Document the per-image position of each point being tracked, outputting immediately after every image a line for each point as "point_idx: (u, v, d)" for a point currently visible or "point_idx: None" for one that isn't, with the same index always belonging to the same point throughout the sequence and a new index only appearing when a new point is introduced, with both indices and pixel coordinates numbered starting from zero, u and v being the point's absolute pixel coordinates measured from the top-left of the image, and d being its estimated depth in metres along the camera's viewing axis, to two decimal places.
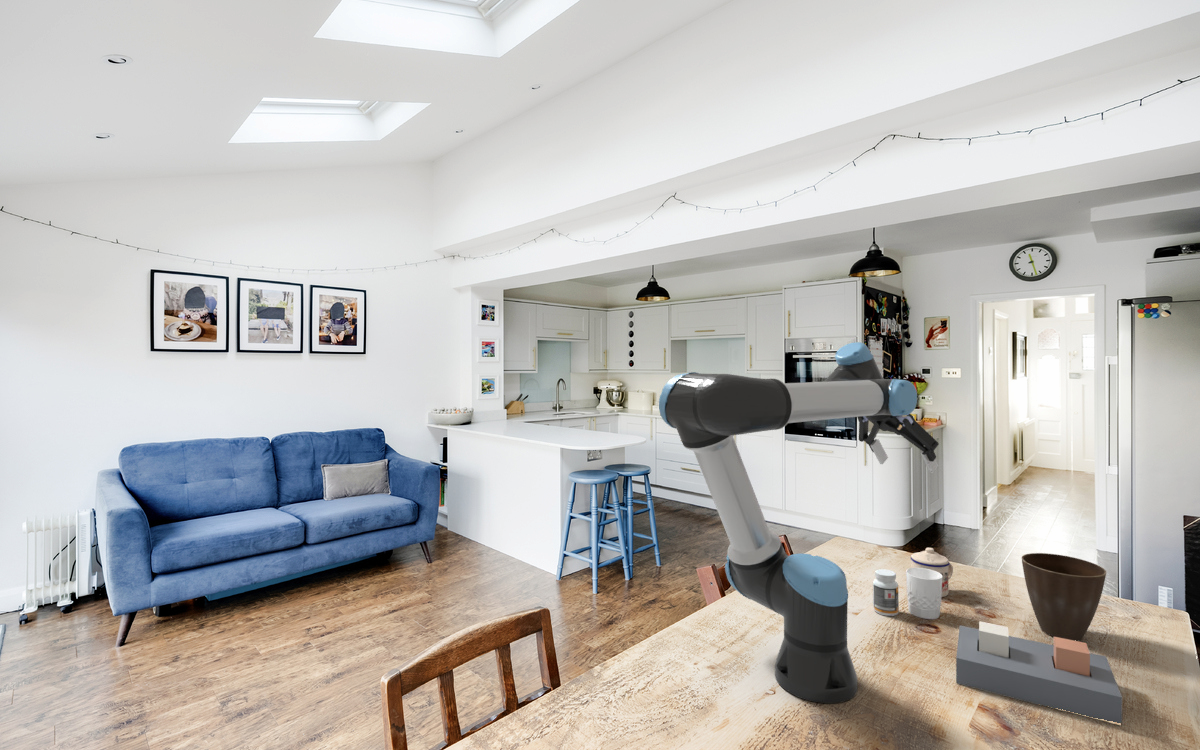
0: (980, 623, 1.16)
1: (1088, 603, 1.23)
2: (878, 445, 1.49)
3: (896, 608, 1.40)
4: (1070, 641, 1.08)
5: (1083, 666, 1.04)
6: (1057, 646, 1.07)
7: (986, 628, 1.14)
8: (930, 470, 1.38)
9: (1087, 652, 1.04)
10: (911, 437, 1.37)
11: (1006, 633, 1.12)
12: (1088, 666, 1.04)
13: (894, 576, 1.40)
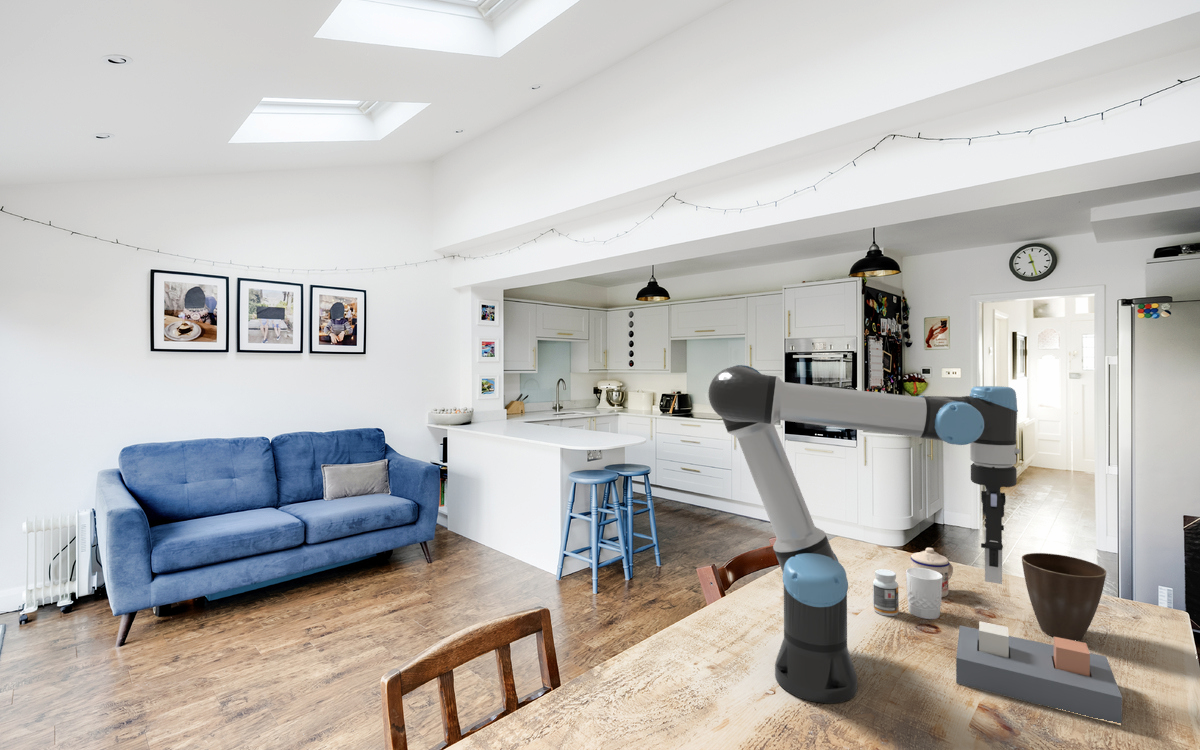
0: (980, 623, 1.16)
1: (1088, 603, 1.23)
2: None
3: (896, 608, 1.40)
4: (1070, 641, 1.08)
5: (1083, 666, 1.04)
6: (1057, 646, 1.07)
7: (986, 628, 1.14)
8: None
9: (1087, 652, 1.04)
10: None
11: (1006, 633, 1.12)
12: (1088, 666, 1.04)
13: (894, 576, 1.40)
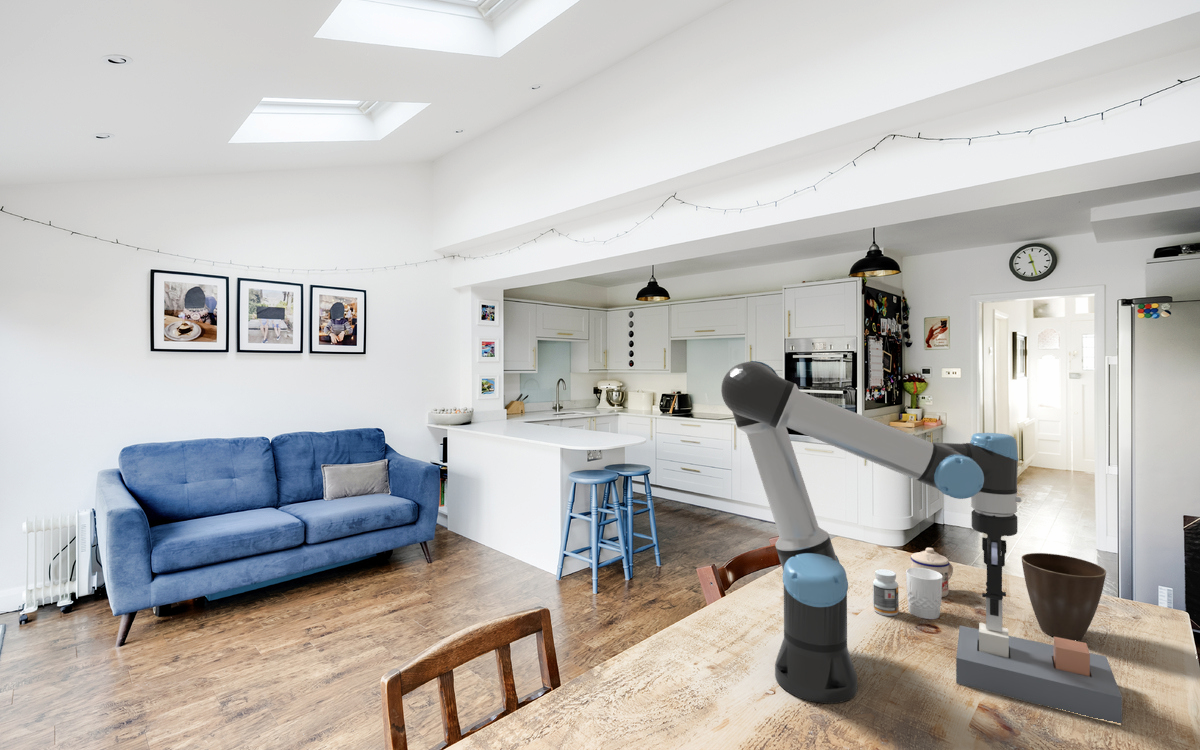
0: (980, 624, 1.16)
1: (1088, 603, 1.23)
2: None
3: (896, 608, 1.40)
4: (1070, 641, 1.08)
5: (1083, 666, 1.04)
6: (1057, 646, 1.07)
7: (986, 629, 1.14)
8: None
9: (1087, 652, 1.04)
10: None
11: (1006, 634, 1.12)
12: (1088, 666, 1.04)
13: (894, 576, 1.40)
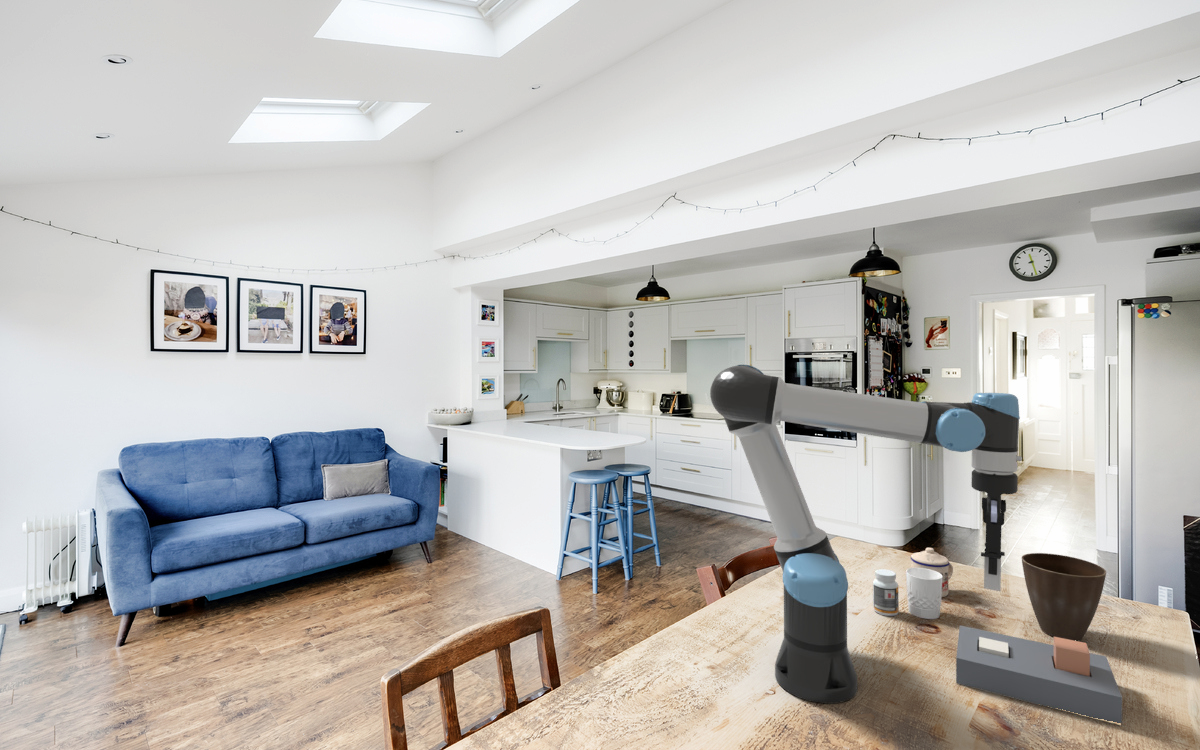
0: (980, 639, 1.16)
1: (1088, 603, 1.23)
2: None
3: (896, 608, 1.40)
4: (1070, 641, 1.08)
5: (1083, 666, 1.04)
6: (1057, 646, 1.07)
7: (986, 644, 1.14)
8: (984, 583, 1.14)
9: (1087, 652, 1.04)
10: None
11: (1006, 649, 1.12)
12: (1088, 666, 1.04)
13: (894, 576, 1.40)
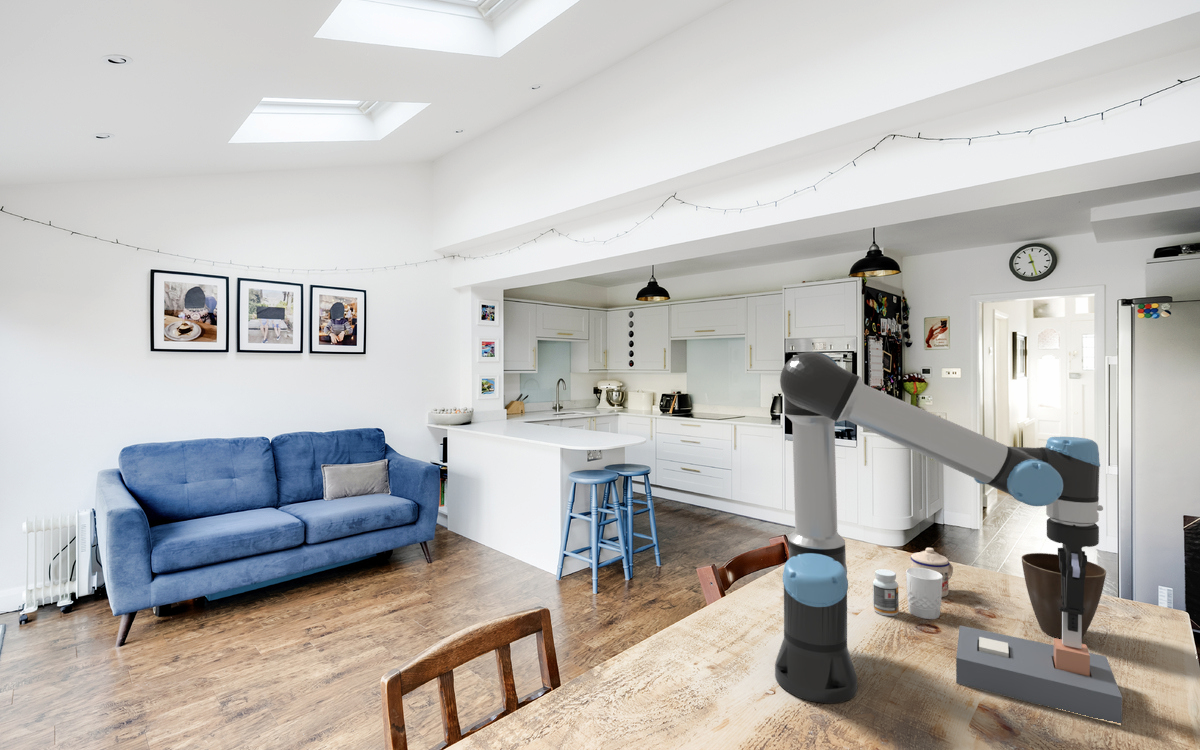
0: (980, 639, 1.16)
1: (1088, 603, 1.23)
2: None
3: (896, 608, 1.40)
4: None
5: (1083, 667, 1.04)
6: (1057, 648, 1.07)
7: (986, 644, 1.14)
8: (1062, 640, 1.07)
9: (1087, 654, 1.04)
10: None
11: (1006, 649, 1.12)
12: (1088, 668, 1.04)
13: (894, 576, 1.40)
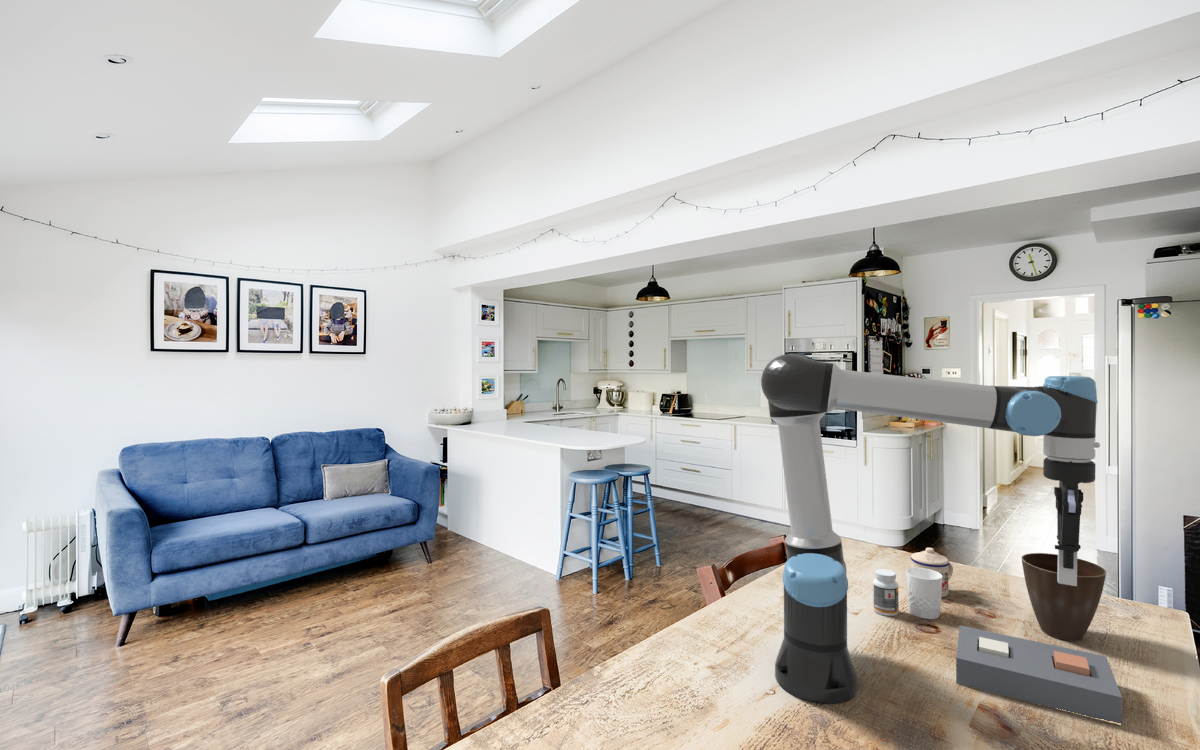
0: (980, 639, 1.16)
1: (1088, 603, 1.23)
2: None
3: (896, 608, 1.40)
4: (1070, 655, 1.08)
5: None
6: (1057, 661, 1.07)
7: (986, 644, 1.14)
8: (1058, 578, 1.08)
9: (1087, 667, 1.04)
10: None
11: (1006, 649, 1.12)
12: None
13: (894, 576, 1.40)
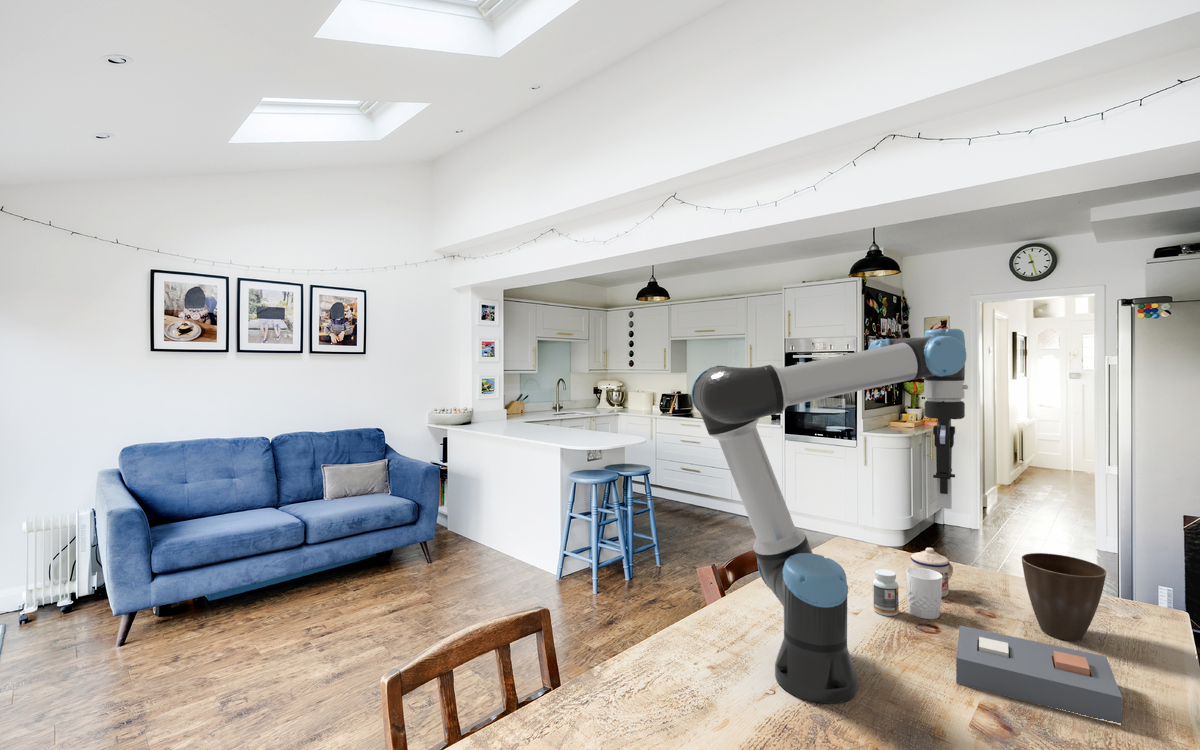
0: (980, 639, 1.16)
1: (1088, 603, 1.23)
2: None
3: (896, 608, 1.40)
4: (1070, 655, 1.08)
5: None
6: (1057, 661, 1.07)
7: (986, 644, 1.14)
8: None
9: (1087, 667, 1.04)
10: None
11: (1006, 649, 1.12)
12: None
13: (894, 576, 1.40)
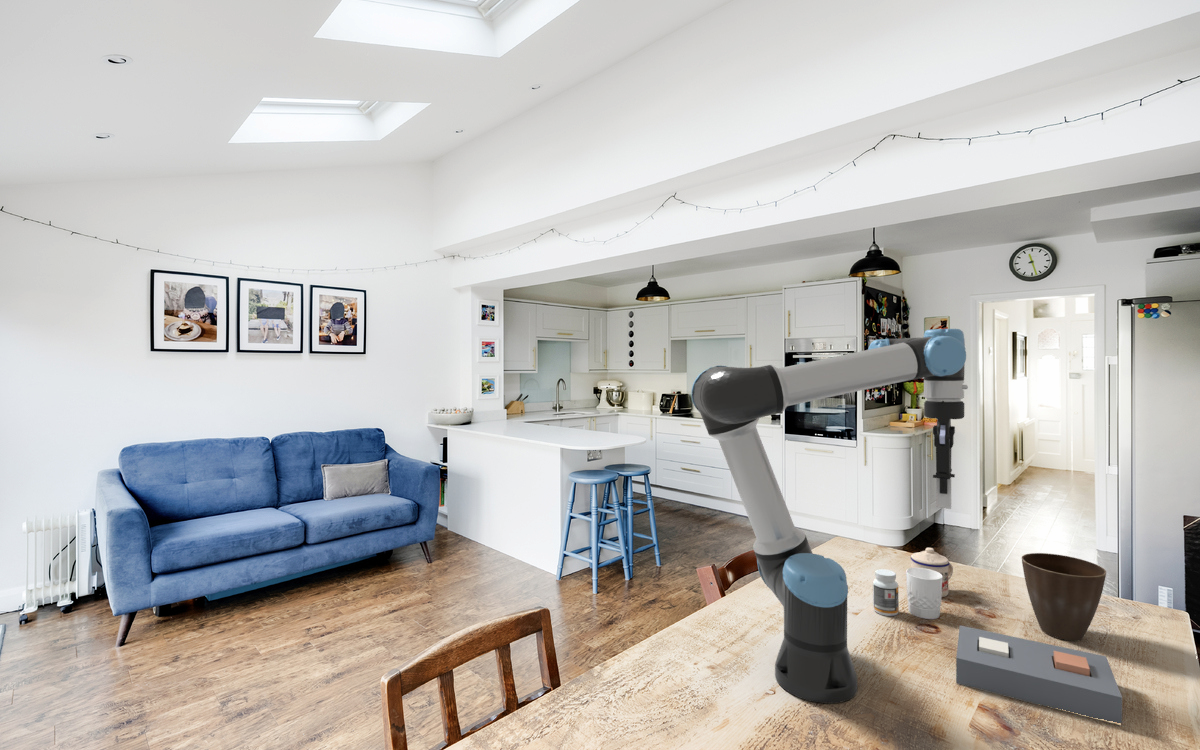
0: (980, 639, 1.16)
1: (1088, 603, 1.23)
2: None
3: (896, 608, 1.40)
4: (1070, 655, 1.08)
5: None
6: (1057, 661, 1.07)
7: (986, 644, 1.14)
8: None
9: (1087, 667, 1.04)
10: None
11: (1006, 649, 1.12)
12: None
13: (894, 576, 1.40)
